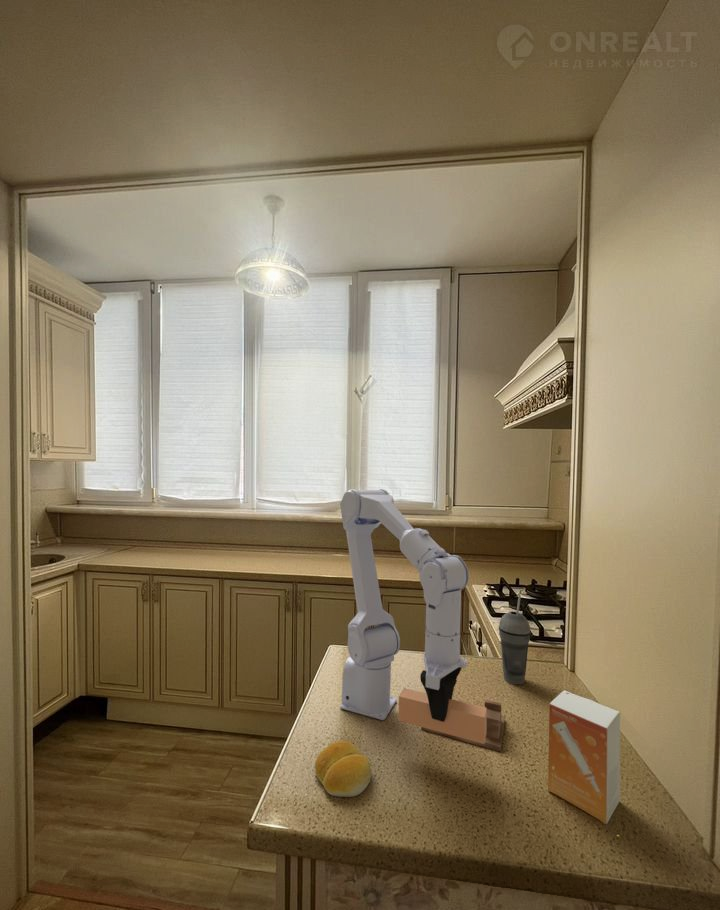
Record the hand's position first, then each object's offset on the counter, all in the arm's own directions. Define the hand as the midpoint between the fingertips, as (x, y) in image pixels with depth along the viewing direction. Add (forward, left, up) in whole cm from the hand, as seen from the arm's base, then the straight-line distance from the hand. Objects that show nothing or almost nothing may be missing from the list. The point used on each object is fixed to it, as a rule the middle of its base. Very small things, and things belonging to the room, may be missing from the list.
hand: (440, 713), depth 67 cm
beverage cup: (+10, +35, -8) cm, 37 cm away
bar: (0, 0, -2) cm, 2 cm away
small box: (+21, +2, -8) cm, 23 cm away
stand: (+2, +12, -8) cm, 14 cm away
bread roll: (-13, -10, -8) cm, 18 cm away
